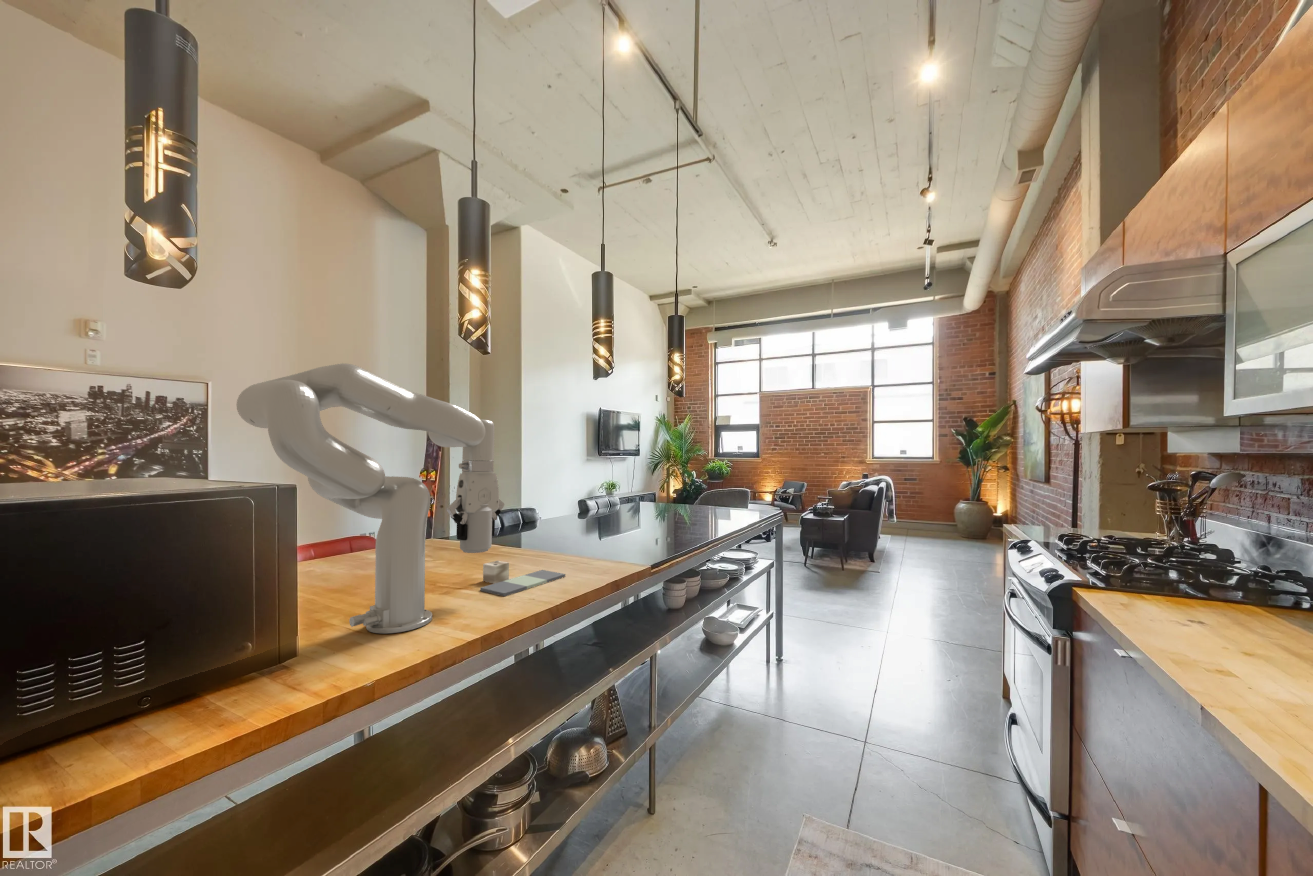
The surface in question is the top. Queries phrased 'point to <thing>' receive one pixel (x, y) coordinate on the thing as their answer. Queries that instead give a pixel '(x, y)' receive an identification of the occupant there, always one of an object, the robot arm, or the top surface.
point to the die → (495, 572)
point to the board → (521, 582)
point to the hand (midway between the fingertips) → (476, 537)
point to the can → (478, 531)
